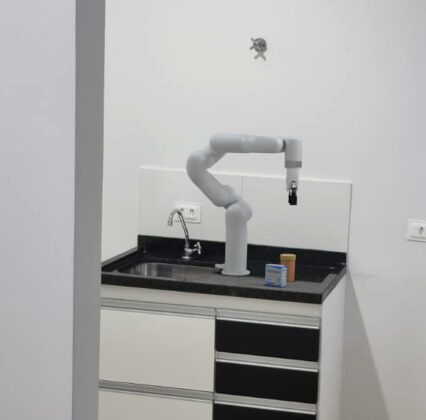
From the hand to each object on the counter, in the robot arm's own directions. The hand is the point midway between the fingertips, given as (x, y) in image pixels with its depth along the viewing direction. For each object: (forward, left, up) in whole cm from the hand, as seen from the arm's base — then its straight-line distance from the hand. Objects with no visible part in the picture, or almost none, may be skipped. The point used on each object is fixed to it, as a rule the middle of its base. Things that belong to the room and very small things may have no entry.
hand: (292, 204), depth 376 cm
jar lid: (-1, -7, -22) cm, 23 cm away
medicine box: (-4, -21, -33) cm, 39 cm away
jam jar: (-1, -7, -32) cm, 33 cm away
